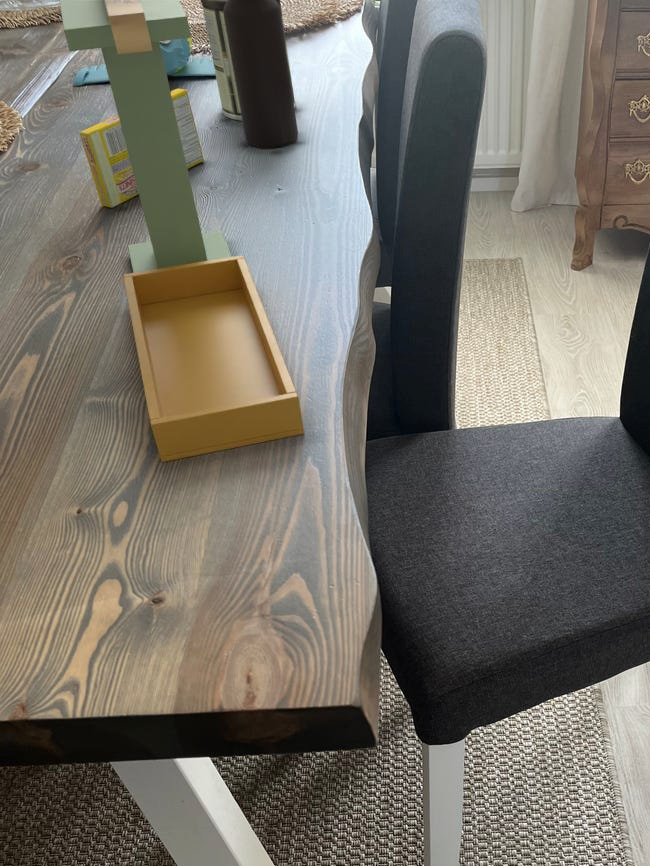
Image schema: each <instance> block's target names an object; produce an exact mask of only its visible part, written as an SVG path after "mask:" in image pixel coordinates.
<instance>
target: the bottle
mask: <svg viewBox="0 0 650 866" xmlns="http://www.w3.org/2000/svg"><path fill="white" fill-rule="evenodd" d="M281 10H282V9H281ZM281 10H280V6H279V4H278V2H277V1H276V0H228V1H227V2H226V4H225V6H224V9H223V14H224V20H225V26H226V31H227V37H228V42H229V48H230V54H231V59H232V65H233V70H234V76H235V82H236V87H237V93H238V98H239V104H240V110H241V115H242V121H241V122H242V126H243V132H244V137H245V140H246V142H247V143H248V144H249V145H250V146H253V147H256V148H261V149H275V148H281V147H285V146H289V145H291V144H292V143H295V141H296V140H297V139H298V137H299V130H298V123H297V116H296V115H297V114H296V107H295V108H294V101H293V94H292V87H291V80H290V73H291V72H290V73H289V66H290V65H289V66H288V59H289V58H288V59H287V52H288V51H287V52H286V45H287V44H286V45H285V38H286V37H285V38H284V31H285V30H284V31H283V24H282V17H281Z"/></svg>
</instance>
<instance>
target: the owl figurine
mask: <svg viewBox="0 0 650 866" xmlns="http://www.w3.org/2000/svg"><path fill="white" fill-rule="evenodd" d="M185 14H186V16H187V19H188V18H189V17H188V12H185ZM188 20H189V19H188ZM159 43H160V47H161V52H162V56H163V61H164V65H165V70H166V74H167V76H171V77H207V76H208V77H211V76H214V77H216V74H215V69H214V64H213V58H212V57H211V58H210V57H209V56H203V57H202V58H201V57H200V56H194V57H191V55H192V49H193V46H192V44H193V43H192V37H191V38H183V39H175V40H166V41H159ZM108 82H109V83H110V81H109V77H108V73H107V69H106V65H105V63H102V64H100V65H99V66H97V65H91V66H90V67H88V66H84V67H82V68H81V69H79V70H78V71H77V72H76V74H75V76H74V79H73V83H72V86H73V87H77V86H79V87H80V86H83V85H87V84H97V83H108Z"/></svg>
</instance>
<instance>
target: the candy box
mask: <svg viewBox="0 0 650 866" xmlns="http://www.w3.org/2000/svg"><path fill="white" fill-rule="evenodd" d="M170 92H171V97H172V101H173V106H174V110H175V115H176V119H177V124H178V128H179V133H180V137H181V142H182V146H183V151H184V156H185V160H186V165H187V169H188V170H189V169H190V168H192V167H194V166H197V165H198V164H201V163H203V162H204V161H205V157H204V155H203V150H202V147H201V143H200V139H199V134H198V130H197V126H196V123H195V119H194V114H193V110H192V106H191V102H190V98H189V93H188V89H183V88H176V89H172V90H170ZM79 136H80V140H81V143H82V146H83V150H84V153H85V156H86V160H87V162H88V165H89V168H90V172H91V175H92V178H93V181H94V185H95V188H96V191H97V195H98V198H99V201H100V204H101V206H103V207H107V208H110V209H113V208H115V207H117V206H119V205H121V204H122V203H124V202H126V201H128V200H130V199H132V198H134V197H135V196H139V193H138V189H137V185H136V181H135V177H134V173H133V169H132V166H131V162H130V158H129V154H128V150H127V146H126V142H125V139H124V135H123V131H122V127H121V123H120V119H119V115H118V114H117V115H115V116H113V117H111V118H109V119H106V120H104V121H102V122H100V123H97V124H94V125H92V126H90V127H88V128H85V129H83V130H81V131H79Z"/></svg>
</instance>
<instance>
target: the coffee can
mask: <svg viewBox="0 0 650 866" xmlns="http://www.w3.org/2000/svg"><path fill="white" fill-rule="evenodd" d="M199 1H200V3H201V8H202V12H203V17H204V22H205V27H206V32H207V37H208V43H209V47H210V52H211V58H213V64H214V69H215V74H216V76H215V78H216V83H217V89H218V94H219V99H220V105H221V113H222V115H224V117H227V118H229V119H231V120H236V121H241V122H243V121H242V115H241V110H240V104H239V98H238V93H237V87H236V82H235V76H234V70H233V65H232V59H231V54H230V48H229V42H228V37H227V31H226V26H225V20H224V14H223V9H224V6H225V4H226V2H227V1H228V0H199ZM276 1H277V2H278V4H279V6H280V10H281V17H282V24H283V31H284V38H285V45H286V52H287V59H288V66H289V73H290V80H291V87H292V94H293V101H294V108H295V109H296V108H297V103H296V100H295V92H294V87H293V80H292V73H291V68H290V67H291V65H290V60H289V53H288V46H287V38H286V31H285V24H284V17H283V9H282V4H281V3H282V2H281V0H276Z"/></svg>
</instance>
